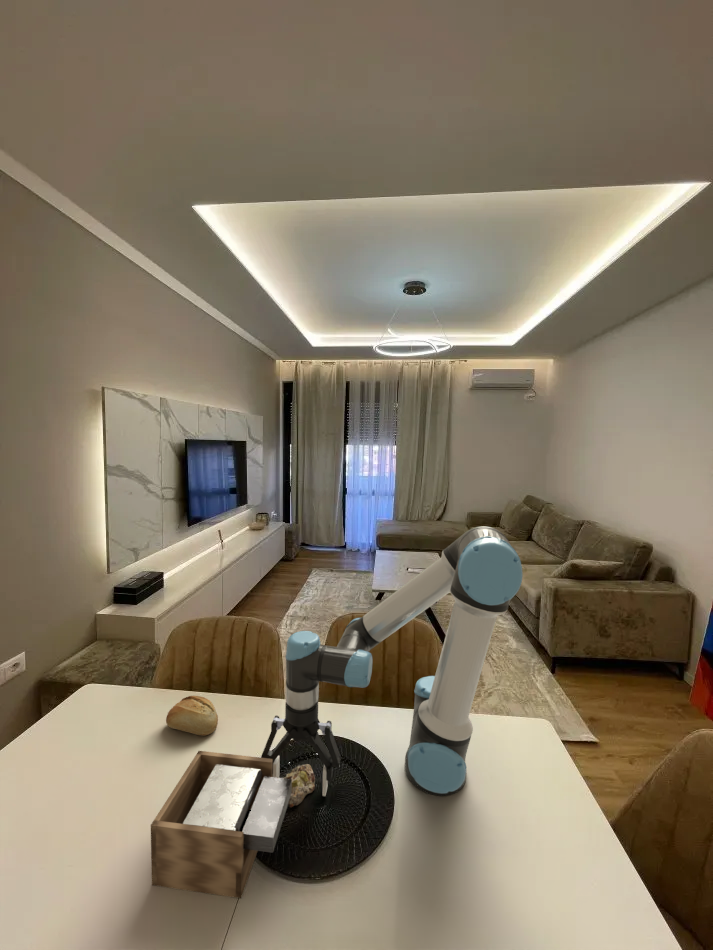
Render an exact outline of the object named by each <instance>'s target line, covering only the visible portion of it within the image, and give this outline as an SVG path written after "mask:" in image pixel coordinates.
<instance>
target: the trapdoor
mask: <svg viewBox="0 0 713 950" xmlns="http://www.w3.org/2000/svg"><path fill="white" fill-rule="evenodd" d="M262 774H263V773H262V771H261V769H253V768H244V767H236V766H227V765H218V764H216V766H215V767H214V769H213V771H212V773H211V774H210V776H209V778H208V780H207V781H206V783H205V785H204V787H203V789H202V790H201V792H200V794H199V796H198V797H197V799H196V801H195V803H194V804H193V806H192V808H191V810H190V812H189V813H188V815H187V817H186V819H185V820H184V822H183V824H187V825H194V826H202V827H210V828H217V829H225V830H232V831H240V830H241V827H242V826H243V828H242V831H241V832H243V850H245V849H249V850H256V851H257V852H266V853H274V851H275V848H276V843H277V841H278V838H279V835H280V832H281V828H282V825H283V821H284V819H285V816H286V811H287V809H288V807H289V804H288V802H289V799H290V796H291V793H292V779H285V778H284V777H279V778H277V777H273V776H272V777H268V776H264V778H263V781H262V783H261V786H260V788H259V791H258V793H257V796H256V798H255V801H254V803H253V806H252V808H251V811H249V810H248V809H249V806H250V804H251V801H252V799H253V796H254V794H255V792H256V789H257V787H258V784H259V782H260V779H261V777H262ZM248 811H249V813H248ZM247 813H248V816H247V819H246V821H245V823H244V820H245V818H246V815H247ZM243 823H244V825H243Z"/></svg>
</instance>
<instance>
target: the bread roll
mask: <svg viewBox="0 0 713 950" xmlns="http://www.w3.org/2000/svg"><path fill="white" fill-rule="evenodd" d="M165 721H166V725H167V726H168V727H169V728H171V729H174V730H178V731H182V732H187V733H191V734H193V735H197V736H203V737H204V736H205V737H206V736H208V735H211V734H213V733H214V732H215V731H216V730H217V728H218V724H219V716H218V714H217V711H216V708H215V705H214V703H212V701H211V700H209V699H208V698H207V697H205V696H204V697H203V696H201V695H188V696H186V697H184V698H182V699H181V700H180V701H179V702H177V703H175V705H174V706H172V707H171V709H169V711H168V712H167V715H166V718H165Z"/></svg>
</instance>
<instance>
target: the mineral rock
mask: <svg viewBox="0 0 713 950" xmlns="http://www.w3.org/2000/svg"><path fill="white" fill-rule="evenodd" d="M315 776H316V775H315V773H314V771H313V768H312V766H311V765H310V764H308V763H306V764H302V765H297V766H296V767H294V768H293V769H292V770H291V771H290V773H286V775H285V777H283V778H285V779H292V793H291V796H290V799H289V802H288V807H289V808H293V807H294V806H299V805H300V804H301V803H302V802H303V801H304V799H305V797H306V796H307V795H308V794H312V793H313V791H314V790H315V787H316V786H315V782H316V777H315Z"/></svg>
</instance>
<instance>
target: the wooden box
mask: <svg viewBox="0 0 713 950" xmlns="http://www.w3.org/2000/svg"><path fill="white" fill-rule="evenodd" d="M216 764H218V765H227V766H236V767H244V768H253V769H261V771H262V773H263V774H262V777H261V779H260V782H259V784H258V787H257V789H256V792H255V794H254V796H253V799H252V801H251V804H250V806H249V809H248V811H249V810H251V808H252V806H253V803H254V801H255V798H256V796H257V793H258V791H259V788H260V786H261V783H262V781H263V778H264V776H268V777H273V774H272V773H273V759H269V758H261V756H260V757H258V756H257V757H256V756H251V755H250V756H249V755H241V754H231V753H222V752H214V751H206V750H198V751H197V753H196V754H195V756H194V757H193V759H192V760H191V762H190V763H189V765H188V767H187V768H186V770H185V771H184V773H183V775H181V777H180V779H179V780H178V782H177V784H176V785H175V787H174V788H173V790H172V791H171V793H170V795H169V796H168V797H167V798H166V800H165V802H164V804H163V806H162V807H161V808H160V810H159V812H158V813H157V814H156V816H155V818H154V819H153V821H152V822H151V824H150V855H151V856H150V858H151V862H150V863H151V867H150V868H151V886H157V887H161V888H162V887H163V888H170V889H176V890H182V891H189V892H196V893H197V892H198V893H203V894H207V895H208V894H209V895H216V896H222V897H230V898H236V899H242V897H243V894H244V892H245V889H246V886H247V883H248V880H249V877H250V874H251V871H252V868H253V866H254V863H255V860H256V857H257V853H258V851H256V850H249V849H243V832H242V831H240V830H239V831H232V830H225V829H217V828H210V827H202V826H194V825H187V824H183V822H184V820H185V819H186V817H187V815H188V813H189V812H190V810H191V808H192V806H193V804H194V803H195V801H196V799H197V797H198V796H199V794H200V792H201V790H202V789H203V787H204V785H205V783H206V781H207V780H208V778H209V776H210V774H211V773H212V771H213V769H214V767H215V766H216Z"/></svg>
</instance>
